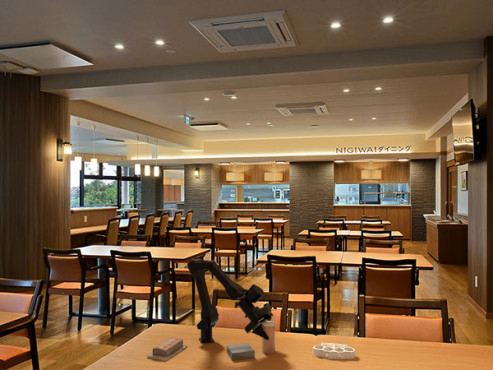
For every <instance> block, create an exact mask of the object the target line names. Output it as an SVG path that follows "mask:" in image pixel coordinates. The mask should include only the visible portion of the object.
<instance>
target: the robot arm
mask: <svg viewBox="0 0 493 370" xmlns="http://www.w3.org/2000/svg"><path fill="white" fill-rule="evenodd" d="M187 269H188V272H189V274H190V275H191V276H192V277H193V279H194V282H195V287H196V290H197V294H198V298H199V302H200V307H201V310H200V321H198V323H197V324H196V329H197V330H199V331H200V337H198V339H199V340H198V341H199V342H200V343H201V344H204V343H213V342H215V339H214V338H213V327H215V326H216V324H217V322H218V321H219V316H220V314H219V312H218V308H217V307H214V306H213V305H212V301H211V297H210V294H209V289H208V285H207V281H206V278H205V276H206V275H205V273H206V270H208V272H210V274H211V275H212V276H213V277H214V278H215V279H216V280H217V281H218V282H219V284H220V285H222V287H223V288H224V290H225V291H224V292H225V294H226V295H227V296H228V298H229V300H231V301H235V302H234V309H237V308H240V309H241V311H242V312H243V314H244V318H245V319H248V320H249V323H248V324H246V326H245V327H244V331H245V333H246V334H249V333H250V334H254V335H256V336H259V337H260V338H261V339H262V338H264V339H266V340H269V337H268V335H267V334H266V332H265V331H264V329H263V326H262V322H264V321H272V318H273V317H274V314H273V313H272V305H270V304H269V302H267V303H264V304H263V306H261V307H259V306H256V305H254V304H257V303H258V301H259V300H260V299H262V297H264V296H265V290H263V288H262V287H260V286H258V285H256V283H253V284H252V285H250V287H249V288H248V289H246V288H244V287H243V285H241V284H239V283H238V282H235V281H234V280H232V279H231V278H230V276H228V274H227V273H226V272H225V271H224V270H223V269H222V268H221V267H220V266H219V265H218V264H217V262H216V261H215V260H213V259H211V260H208V259H207V260H204V259H202V258H195V259H191V260H189V261H188V263H187ZM236 300H237V301H236Z"/></svg>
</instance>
